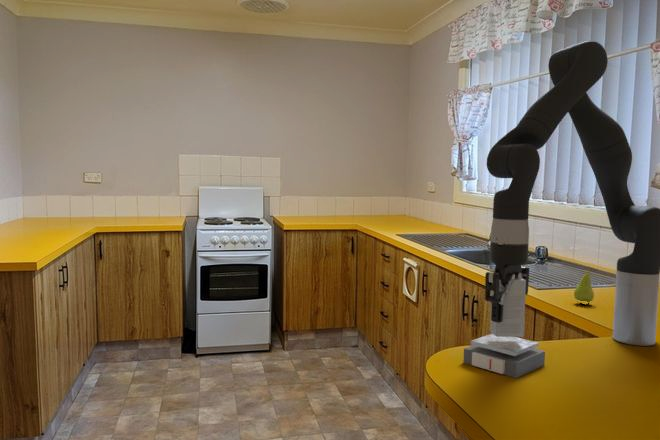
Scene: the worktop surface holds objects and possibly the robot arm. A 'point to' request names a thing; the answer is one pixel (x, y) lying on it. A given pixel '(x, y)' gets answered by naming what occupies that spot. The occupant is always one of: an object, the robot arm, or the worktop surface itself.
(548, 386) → the worktop surface
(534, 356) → the scale base
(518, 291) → the skincare box
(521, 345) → the pan
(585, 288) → the fruit
